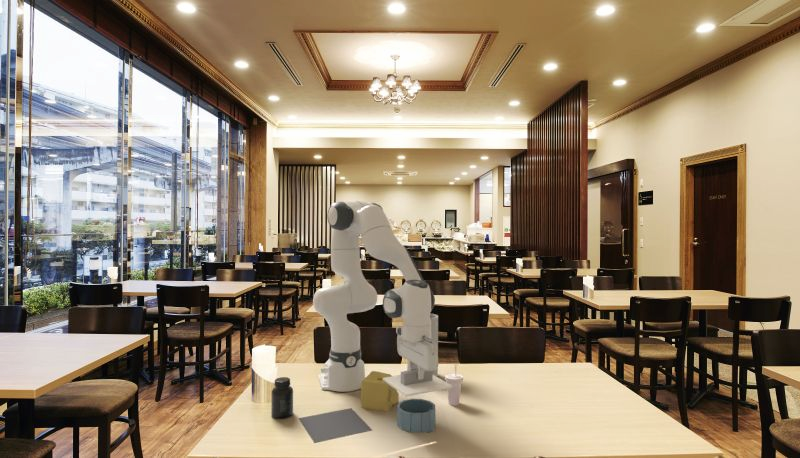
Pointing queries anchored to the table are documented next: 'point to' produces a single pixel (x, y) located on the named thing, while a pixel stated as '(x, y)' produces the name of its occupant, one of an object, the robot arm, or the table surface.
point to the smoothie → (454, 387)
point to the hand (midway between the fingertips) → (416, 377)
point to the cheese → (378, 392)
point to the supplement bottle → (282, 399)
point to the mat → (334, 425)
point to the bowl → (416, 415)
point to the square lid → (416, 383)
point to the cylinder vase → (433, 336)
